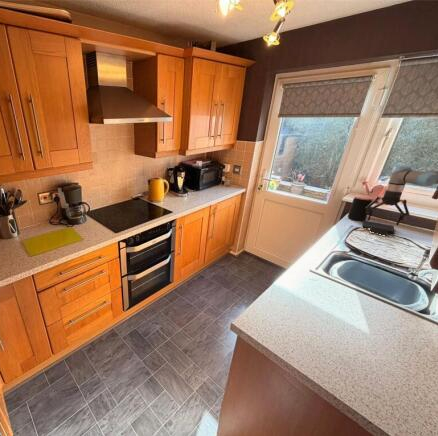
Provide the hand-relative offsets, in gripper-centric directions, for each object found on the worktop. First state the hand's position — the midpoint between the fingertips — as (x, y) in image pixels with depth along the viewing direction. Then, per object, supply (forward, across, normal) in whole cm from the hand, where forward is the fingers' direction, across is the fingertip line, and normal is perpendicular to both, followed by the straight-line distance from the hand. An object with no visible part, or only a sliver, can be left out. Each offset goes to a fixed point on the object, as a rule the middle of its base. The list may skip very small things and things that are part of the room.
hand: (382, 222), depth 152 cm
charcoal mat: (+8, 0, -12) cm, 14 cm away
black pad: (+8, 0, -2) cm, 9 cm away
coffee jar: (+8, +12, -24) cm, 29 cm away
